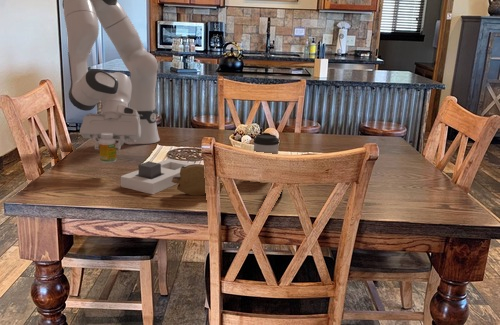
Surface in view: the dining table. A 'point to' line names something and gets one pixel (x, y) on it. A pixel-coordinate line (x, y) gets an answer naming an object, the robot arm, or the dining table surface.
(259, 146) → the coffee cup
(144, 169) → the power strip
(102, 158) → the supplement bottle
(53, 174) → the dining table surface
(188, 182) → the wooden carving
